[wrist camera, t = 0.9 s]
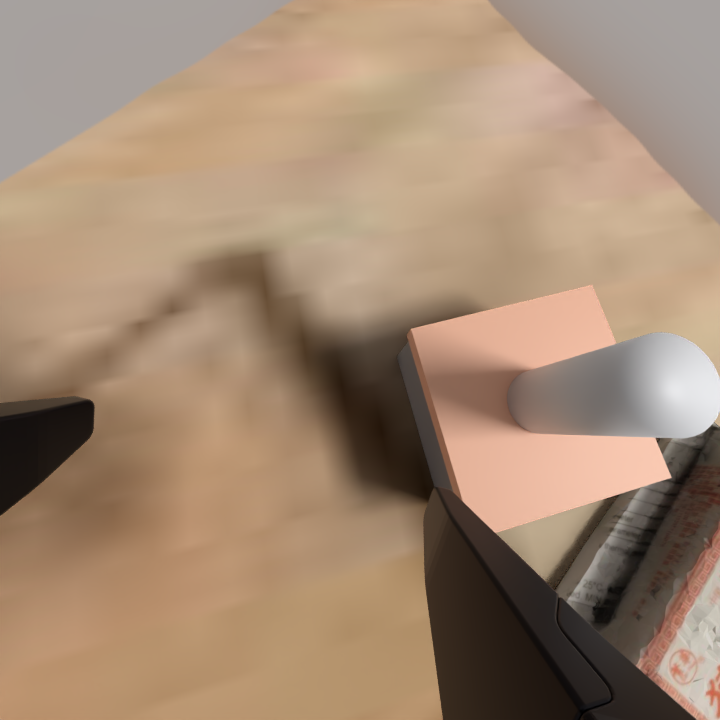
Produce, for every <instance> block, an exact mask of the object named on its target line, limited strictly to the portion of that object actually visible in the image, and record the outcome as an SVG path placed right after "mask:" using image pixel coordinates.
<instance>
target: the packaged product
mask: <svg viewBox="0 0 720 720" xmlns="http://www.w3.org/2000/svg"><path fill="white" fill-rule="evenodd" d="M658 446H659V448H660V451H661V453H662V455H663V458H664V460H665V463H666V465H667V468H668V470H669V472H670V475H671V477H672V478H669V479H666V480H663V481H660V482H656V483H653V484H650V485H647V486H644V487H640V488H637V489H634V490H631V491H628V492H625V493H621V494H619V496H618V497H617V499H616V500H615V501H614V503H613V504H612V506H611V507H610V508H609V510H608V511H607V512H606V514H605V515H604V517H603V518H602V520H601V521H600V523H599V524H598V525H597V527H596V528H595V530H594V531H593V533H592V534H591V536H590V537H589V539H588V540H587V542H586V543H585V545H584V546H583V548H582V549H581V551H580V552H579V554H578V555H577V557H576V559H575V560H574V562H573V563H572V565H571V566H570V568H569V570H568V571H567V573H566V574H565V576H564V578H563V579H562V581H561V582H560V584H559V585H558V587H557V589H556V590H555V591H556V592H557V593H558V595H559V597H562V598H563V599H564V600H565V601H566V602H567V603H568V604H569V605H570V606H571V607H572V608H573V609H574V610H575V611H576V612H577V613H579V614H580V615H581V616H582V617H583V618H584V619H585V620H586V621H587V622H588V623H589V624H590V625H591V626H592V627H593V628H594V629H596V630H597V631H598V632H599V633H600V634H601V635H602V636H603V637H604V638H605V639H606V640H607V641H608V642H610V643H611V644H612V645H613V646H614V647H615V648H616V649H617V650H619V651H620V652H621V653H622V654H623V655H624V656H625V657H626V658H628V659H629V660H630V661H631V662H632V663H633V664H634V665H635V666H636V667H638V668H639V669H640V670H641V671H642V672H643V673H644V674H646V675H647V676H648V677H649V678H650V679H651V680H652V681H654V682H655V683H656V684H657V685H658V686H659V687H660V688H662V689H663V690H664V691H665V692H666V693H667V694H668V695H669V696H671V697H672V698H673V699H674V700H675V701H676V702H677V703H679V704H680V705H681V706H682V707H683V708H684V709H685V710H687V711H688V712H689V713H690V714H691V715H692V716H693V717H695V718H696V719H697V720H720V427H719V426H718V425H717V424H716V423H715V422H714V423H713V424H712V425H711V426H710V427H709V428H708V429H707V430H706V431H704V432H702V433H701V434H699V435H696V436H694V437H689V438H661V439H660V440H659V442H658Z"/></svg>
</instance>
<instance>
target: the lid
mask: <svg viewBox="0 0 720 720" xmlns="http://www.w3.org/2000/svg"><path fill="white" fill-rule="evenodd" d="M407 338H408V341H409V345H410V348H411V351H412V355H413V358H414V361H415V365H416V368H417V371H418V375H419V378H420V382H421V385H422V388H423V392H424V395H425V398H426V402H427V405H428V409H429V412H430V415H431V419H432V422H433V425H434V429H435V432H436V435H437V439H438V442H439V446H440V449H441V452H442V456H443V459H444V462H445V466H446V469H447V473H448V476H449V479H450V483H451V486H452V489H453V493H455V494H456V495H457V496H458V497H459V498H460V499H461V500H462V501H463V502H464V503H465V504H466V505H467V506H468V507H469V508H470V509H471V510H472V511H473V512H474V513H475V514H476V515H477V516H478V517H479V518H480V519H481V520H482V521H483V522H484V523H486V524H487V525H488V526H489V527H490V528H491V529H492V530H493V531H494V532H495V533H497V532H500V531H503V530H506V529H510V528H513V527H516V526H519V525H522V524H526V523H529V522H532V521H535V520H538V519H541V518H545V517H548V516H551V515H554V514H557V513H561V512H564V511H567V510H570V509H573V508H577V507H580V506H583V505H586V504H589V503H593V502H596V501H599V500H602V499H605V498H609V497H612V496H615V495H618V494H621V493H625V492H628V491H631V490H634V489H637V488H640V487H644V486H647V485H650V484H653V483H656V482H660V481H663V480H666V479H669V478H672V477H671V475H670V472H669V470H668V468H667V465H666V463H665V460H664V458H663V455H662V453H661V451H660V448H659V446H658V443H657V441H656V439H655V438H689V437H694V436H696V435H699V434H701V433H702V432H704V431H706V430H707V429H708V428H709V427H710V426H711V425H712V424H713V423H714V421H715V420H716V418H717V416H718V414H719V412H720V379H719V376H718V373H717V371H716V369H715V367H714V365H713V363H712V362H711V360H710V359H709V358H708V356H707V355H706V354H705V353H704V352H703V351H702V350H701V349H700V348H699V347H698V346H696V345H695V344H694V343H692V342H691V341H689V340H687V339H685V338H683V337H681V336H678V335H675V334H671V333H663V332H659V333H651V334H647V335H644V336H640V337H637V338H634V339H631V340H627V341H624V342H621V343H617V344H616V341H615V339H614V337H613V334H612V332H611V329H610V327H609V324H608V322H607V320H606V317H605V315H604V312H603V310H602V308H601V305H600V303H599V300H598V298H597V295H596V293H595V291H594V288H593V286H592V285H589V286H585V287H581V288H577V289H573V290H569V291H565V292H561V293H556V294H552V295H548V296H544V297H540V298H536V299H532V300H528V301H523V302H519V303H515V304H511V305H507V306H503V307H499V308H494V309H490V310H486V311H482V312H478V313H474V314H470V315H466V316H461V317H457V318H453V319H449V320H445V321H441V322H437V323H433V324H428V325H424V326H420V327H416V328H412V329H410V331H409V332H408V334H407Z"/></svg>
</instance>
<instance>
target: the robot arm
mask: <svg viewBox="0 0 720 720" xmlns="http://www.w3.org/2000/svg"><path fill="white" fill-rule="evenodd" d="M93 429H94V403H93V402H92V401H91V400H89V399H85V398H81V397H76V396H73V397H61V398H50V399H39V400H28V401H17V402H6V403H0V516H1V515H2V514H3V513H4V512H6V511H7V510H8V509H10V508H11V507H12V506H13V505H15V504H16V503H17V502H18V501H20V500H21V499H22V498H24V497H25V496H26V495H27V494H29V493H30V492H31V491H32V490H33V489H35V488H36V487H37V486H38V485H39V484H41V483H42V482H43V481H44V480H45V479H46V478H47V477H48V476H49V475H51V474H52V473H53V472H54V471H55V470H56V469H57V468H58V467H59V466H60V465H61V464H62V463H63V462H65V461H66V460H67V459H68V458H69V457H70V456H71V455H72V454H73V453H74V452H75V451H76V450H77V449H79V448H80V447H81V446H82V445H83V444H84V443H85V442H86V441H87V440H88V439H89V438H90V437H91V435H92V433H93ZM423 527H424V570H425V586H426V595H427V602H428V610H429V617H430V625H431V633H432V640H433V648H434V655H435V663H436V670H437V678H438V685H439V693H440V700H441V708H442V715H443V720H697V719H696V718H695V717H693V716H692V715H691V714H690V713H689V712H688V711H687V710H685V709H684V708H683V707H682V706H681V705H680V704H679V703H677V702H676V701H675V700H674V699H673V698H672V697H671V696H669V695H668V694H667V693H666V692H665V691H664V690H663V689H662V688H660V687H659V686H658V685H657V684H656V683H655V682H654V681H652V680H651V679H650V678H649V677H648V676H647V675H646V674H644V673H643V672H642V671H641V670H640V669H639V668H638V667H636V666H635V665H634V664H633V663H632V662H631V661H630V660H629V659H628V658H626V657H625V656H624V655H623V654H622V653H621V652H620V651H619V650H617V649H616V648H615V647H614V646H613V645H612V644H611V643H610V642H608V641H607V640H606V639H605V638H604V637H603V636H602V635H601V634H600V633H599V632H598V631H597V630H596V629H594V628H593V627H592V626H591V625H590V624H589V623H588V622H587V621H586V620H585V619H584V618H583V617H582V616H581V615H580V614H579V613H577V612H576V611H575V610H574V609H573V608H572V607H571V606H570V605H569V604H568V603H567V602H566V601H565V600H564V599H563V598H562V597H559V595H558V593H557V592H556V591H555V590H554V589H553V588H552V587H551V586H550V585H549V584H548V583H546V582H545V581H544V580H543V579H542V578H541V577H540V576H539V575H538V574H537V573H536V572H535V571H534V570H533V569H532V568H531V567H530V566H529V565H528V564H527V563H526V562H525V561H524V560H523V559H522V558H521V557H520V556H519V555H518V554H517V553H515V552H514V551H513V550H512V549H511V548H510V547H509V546H508V545H507V544H506V543H505V542H504V541H503V540H502V539H501V538H500V537H499V536H498V535H497V534H496V533H495V532H494V531H493V530H492V529H491V528H490V527H489V526H488V525H487V524H486V523H484V522H483V521H482V520H481V519H480V518H479V517H478V516H477V515H476V514H475V513H474V512H473V511H472V510H471V509H470V508H469V507H468V506H467V505H466V504H465V503H464V502H463V501H462V500H461V499H460V498H459V497H458V496H457V495H456V494H455V493H453V492H452V491H451V490H450V489H446V488H442V487H437V486H436V487H435V488H434V489H433V490H432V493H431V496H430V499H429V502H428V505H427V508H426V510H425V514H424V521H423Z"/></svg>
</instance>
